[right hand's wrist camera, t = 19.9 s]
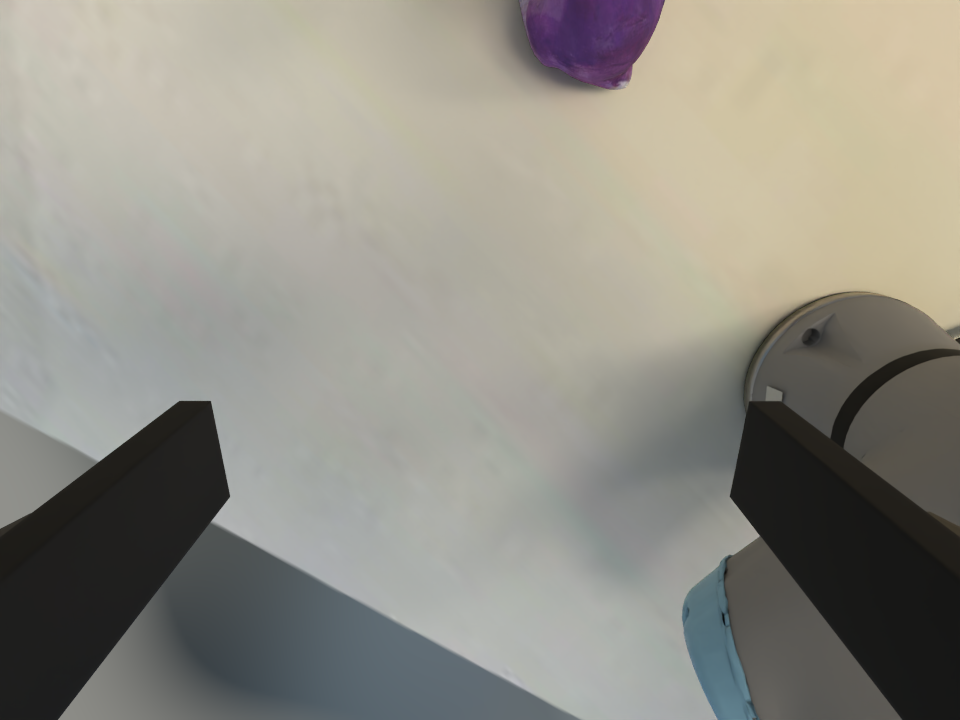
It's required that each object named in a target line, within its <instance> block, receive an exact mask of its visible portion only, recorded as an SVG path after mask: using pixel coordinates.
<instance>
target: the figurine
mask: <svg viewBox="0 0 960 720" xmlns="http://www.w3.org/2000/svg"><path fill="white" fill-rule="evenodd" d="M664 2H665V0H519V3H520V8H521V13H522V18H523V22H524V25H525V29H526V33H527V37H528V39H529V43H530V46H531V48H532V50H533V52H534V55H535V56H536V57H537V58H538V59H539V61H540V62H541V63H542V64H543V65H545V66H548V67H556V68H558V69H560V70H562V71H564V72H565V73H567V74H568V75H569V76H571V77H573V78H575V79H577V80H580V81H582V82H585V83H589V84H592V85H595V86H599V87H602V88H606V89H612V90H617V89H622V88H625V87H626V86H627V85H628V83H629V81H630V79H631V75H632V64H633V63H634V62H635V61H636V60H637V59H638V58H639V56H640V55H641V53H642V52H643V50H644V49H645V47H646V45H647V44H648V42H649V40H650V38H651V36H652V34H653V32H654V30H655V28H656V25H657V23H658V21H659V18H660V14H661V11H662V8H663V5H664Z"/></svg>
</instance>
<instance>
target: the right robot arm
mask: <svg viewBox="0 0 960 720" xmlns="http://www.w3.org/2000/svg"><path fill="white" fill-rule="evenodd" d="M744 404H745V410H746V419H745V424H744V429H743V434H742V439H741V444H740V449H739V454H738V459H737V464H736V469H735V474H734V479H733V484H732V489H731V494H730V497H731V499H732V500H733V501H734V503H735V504H736V505H737V506H738V508H739V509H740V510H741V512H742V513H743V514H744V516H745V517H746V518H747V519H748V521H749V522H750V523H751V525H752V526H753V527H754V528H755V530H756V531H757V532H758V534H759V535H760V537H759V538H757V539H756V540H755V541H753V542H752V543H750V544H749V545H748V546H746V547H745V548H743V549H742V550H741V551H739V552H738V553H736V554H735V555H734V556H732V555H728V556H726V557H725V558H724V559H723V560H722V561H721V562H720V565H719V567H718V568H716V569H715V570H714V571H713V572H711V573H710V574H709V575H708V576H706V577H705V578H704V579H703V580H702V581H700V582H699V583H698V584H697V585H695V586H694V587H693V588H692V589H691V590H690V591H689V593H688V594H687V596H686V599H685V601H684V604H683V613H682V621H683V627H684V636H685V641H686V645H687V649H688V652H689V655H690V658H691V661H692V664H693V667H694V669H695V672H696V674H697V677H698V679H699V682H700V684H701V686H702V688H703V691H704V693H705V695H706V697H707V699H708V701H709V703H710V705H711V707H712V709H713V711H714V713H715V715H716V717H717V719H718V720H960V338H958V339H955V340H954V339H953V338H952V337H951V336H950V335H949V334H948V333H947V332H945V331H944V330H943V329H942V328H941V327H940V326H938V325H937V324H936V323H935V322H934V321H933V320H932V319H931V318H930V317H929V316H928V315H926V314H925V313H923V312H922V311H920V310H919V309H917V308H915V307H913V306H911V305H909V304H907V303H905V302H902V301H900V300H897V299H894V298H891V297H887V296H884V295H880V294H875V293H869V292H849V293H842V294H837V295H833V296H829V297H826V298H823V299H820V300H817V301H815V302H813V303H810V304H808V305H806V306H805V307H803V308H801V309H799V310H798V311H796V312H794V313H793V314H792V315H790V316H789V317H787V318H786V319H785V320H784V321H783V322H781V323H780V324H779V325H778V326H777V327H776V328H775V329H774V330H773V331H772V332H771V333H770V334H769V335H768V337H767V338H766V339H765V340H764V342H763V343H762V344H761V346H760V347H759V349H758V351H757V352H756V354H755V356H754V358H753V360H752V362H751V364H750V367H749V370H748V372H747V376H746V380H745V387H744ZM229 497H230V494H229V489H228V484H227V479H226V474H225V469H224V464H223V459H222V454H221V449H220V444H219V439H218V434H217V429H216V424H215V419H214V414H213V409H212V404H211V401H179V402H178V403H176V404H175V405H174V406H172V407H171V408H170V409H168V410H167V411H166V412H164V413H163V414H162V415H160V416H159V417H158V418H156V419H155V420H154V421H152V422H151V423H150V424H149V425H147V426H146V427H145V428H143V429H142V430H141V431H139V432H138V433H137V434H135V435H134V436H133V437H131V438H130V439H129V440H127V441H126V442H125V443H123V444H122V445H121V446H120V447H118V448H117V449H116V450H114V451H113V452H112V453H110V454H109V455H108V456H106V457H105V458H104V459H102V460H101V461H100V462H98V463H97V464H96V465H95V466H93V467H92V468H91V469H89V470H88V471H87V472H85V473H84V474H83V475H81V476H80V477H79V478H77V479H76V480H75V481H73V482H72V483H71V484H70V485H68V486H67V487H66V488H64V489H63V490H62V491H60V492H59V493H58V494H56V495H55V496H54V497H52V498H51V499H50V500H48V501H47V502H46V503H44V504H43V505H42V506H40V507H39V508H38V509H37V510H35V511H34V512H33V513H31V514H28V515H26V516H24V517H22V518H21V519H19V520H17V521H15V522H13V523H11V524H9V525H7V526H5V527H3V528H1V529H0V720H58V719H59V718H60V716H61V715H62V714H63V712H64V711H65V710H66V708H67V707H68V706H69V705H70V703H71V702H72V701H73V699H74V698H75V697H76V696H77V694H78V693H79V692H80V690H81V689H82V688H83V686H84V685H85V684H86V683H87V681H88V680H89V679H90V677H91V676H92V675H93V673H94V672H95V671H96V670H97V668H98V667H99V666H100V664H101V663H102V662H103V661H104V659H105V658H106V657H107V655H108V654H109V653H110V652H111V650H112V649H113V648H114V646H115V645H116V644H117V642H118V641H119V640H120V639H121V637H122V636H123V635H124V633H125V632H126V631H127V630H128V628H129V627H130V626H131V624H132V623H133V622H134V620H135V619H136V618H137V616H138V615H139V614H140V613H141V611H142V610H143V609H144V607H145V606H146V605H147V603H148V602H149V601H150V600H151V598H152V597H153V596H154V594H155V593H156V592H157V591H158V589H159V588H160V587H161V585H162V584H163V583H164V582H165V580H166V579H167V578H168V576H169V575H170V574H171V572H172V571H173V570H174V569H175V567H176V566H177V565H178V563H179V562H180V561H181V560H182V558H183V557H184V556H185V554H186V553H187V552H188V550H189V549H190V548H191V547H192V545H193V544H194V543H195V541H196V540H197V539H198V538H199V536H200V535H201V534H202V532H203V531H204V530H205V528H206V527H207V526H208V525H209V523H210V522H211V521H212V519H213V518H214V517H215V516H216V514H217V513H218V512H219V510H220V509H221V508H222V506H223V505H224V504H225V503H226V501H227V500H228V499H229Z"/></svg>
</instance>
